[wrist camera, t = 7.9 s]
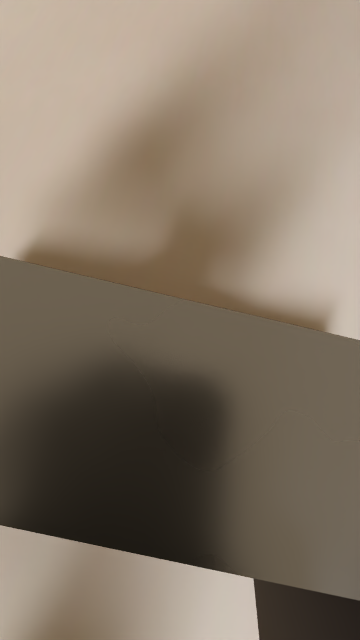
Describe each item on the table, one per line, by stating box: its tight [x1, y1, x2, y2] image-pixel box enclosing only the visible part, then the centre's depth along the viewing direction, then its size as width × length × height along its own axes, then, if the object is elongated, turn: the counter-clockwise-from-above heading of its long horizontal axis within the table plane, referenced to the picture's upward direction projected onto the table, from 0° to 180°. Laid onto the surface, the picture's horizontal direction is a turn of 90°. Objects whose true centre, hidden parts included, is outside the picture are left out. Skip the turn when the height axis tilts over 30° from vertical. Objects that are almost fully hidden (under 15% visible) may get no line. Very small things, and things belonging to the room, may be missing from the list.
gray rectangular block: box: [0, 256, 360, 601], centre depth 10 cm, size 3×6×13 cm, turn 77°
